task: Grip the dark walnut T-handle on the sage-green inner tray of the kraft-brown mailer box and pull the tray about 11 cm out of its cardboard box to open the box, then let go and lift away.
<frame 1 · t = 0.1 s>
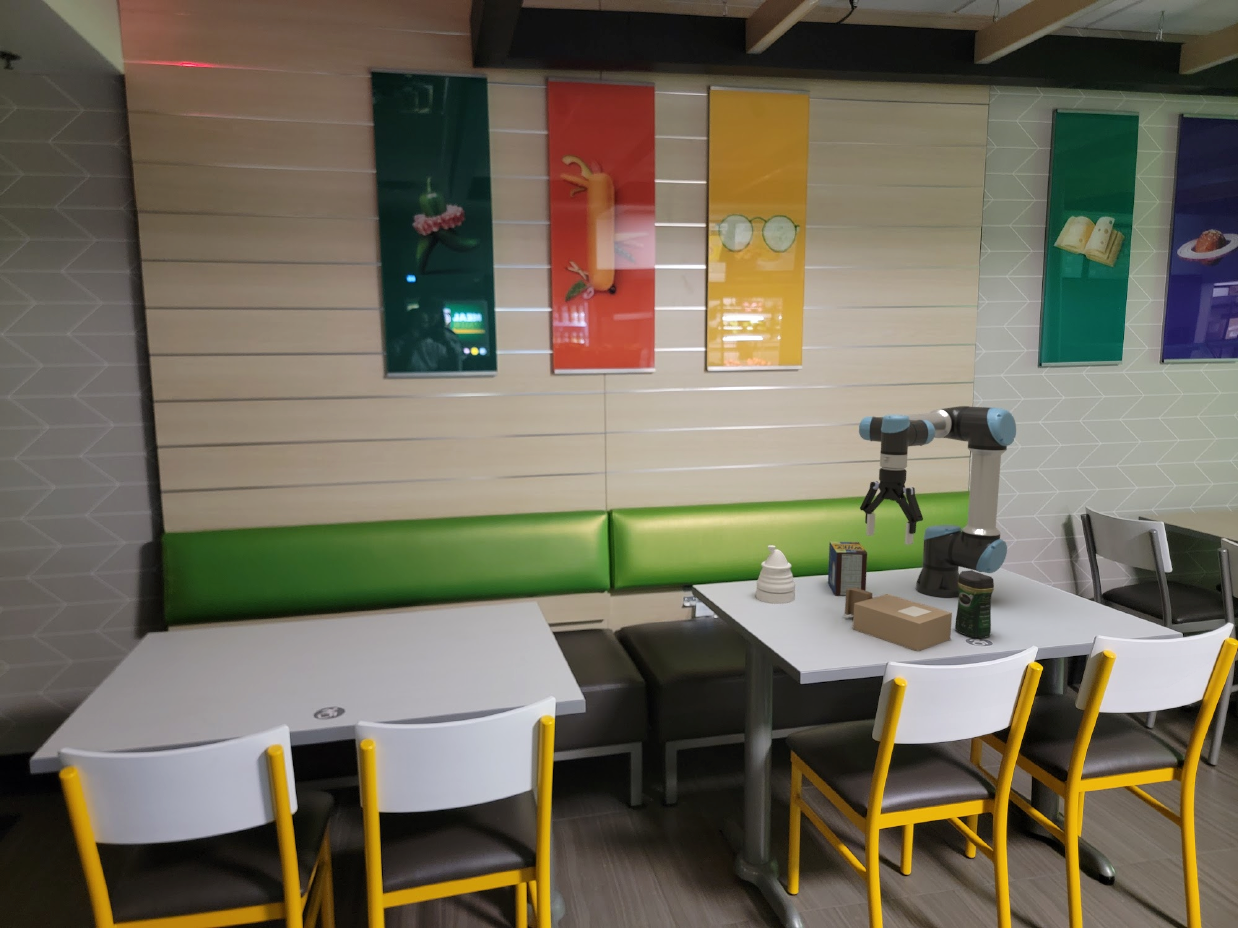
hand: (889, 539, 238), 28 cm above the table, fingers open, 13 cm apart
tray: (889, 613, 242), point 5 cm above the table, slide at 0.0 cm
protein box: (845, 590, 283), on the table
cardboard box: (900, 634, 239), on the table
honey pot: (775, 598, 273), on the table
coffee jar: (972, 633, 240), on the table
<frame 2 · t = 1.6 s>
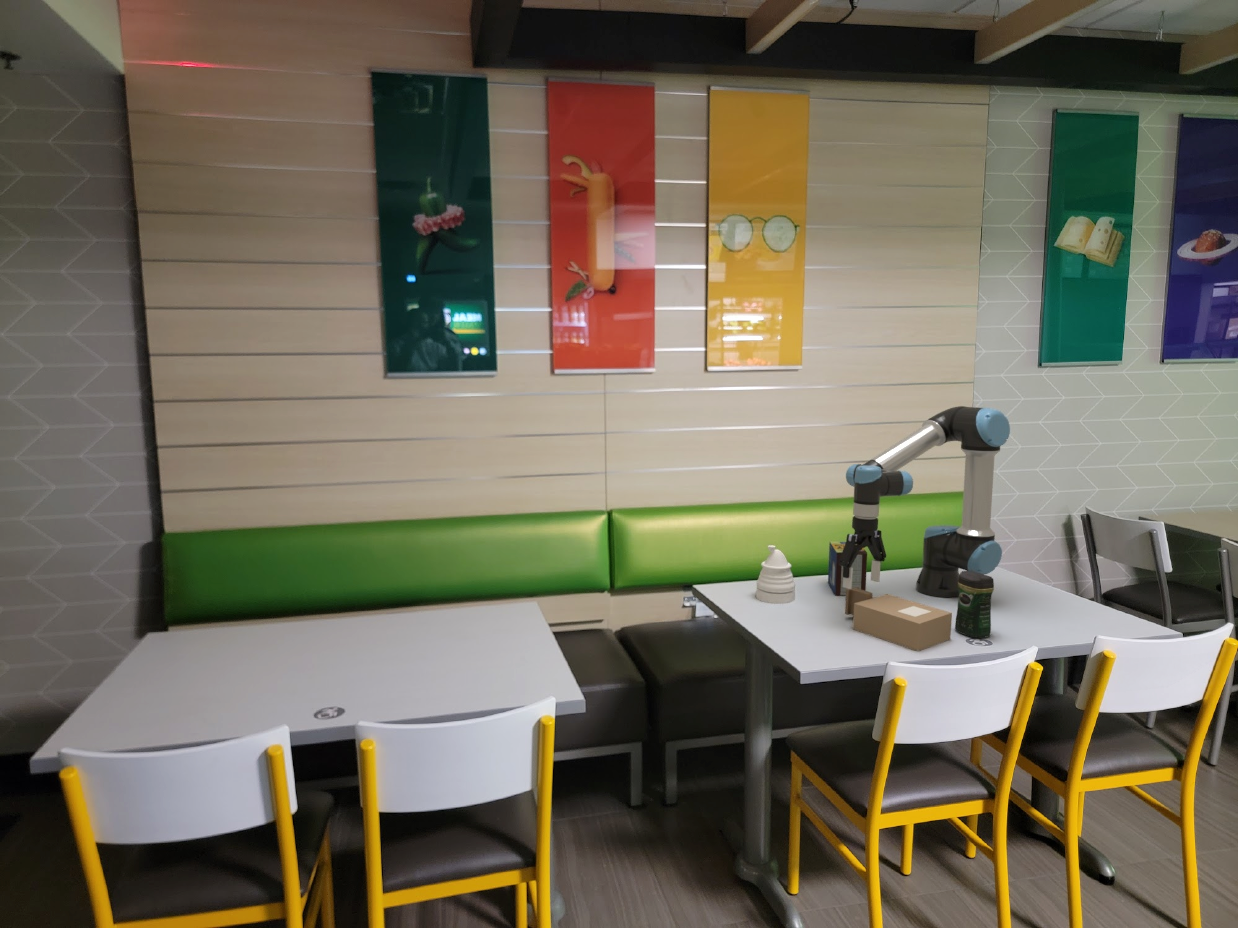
hand: (861, 584, 249), 12 cm above the table, fingers open, 13 cm apart
nothing on the table moved.
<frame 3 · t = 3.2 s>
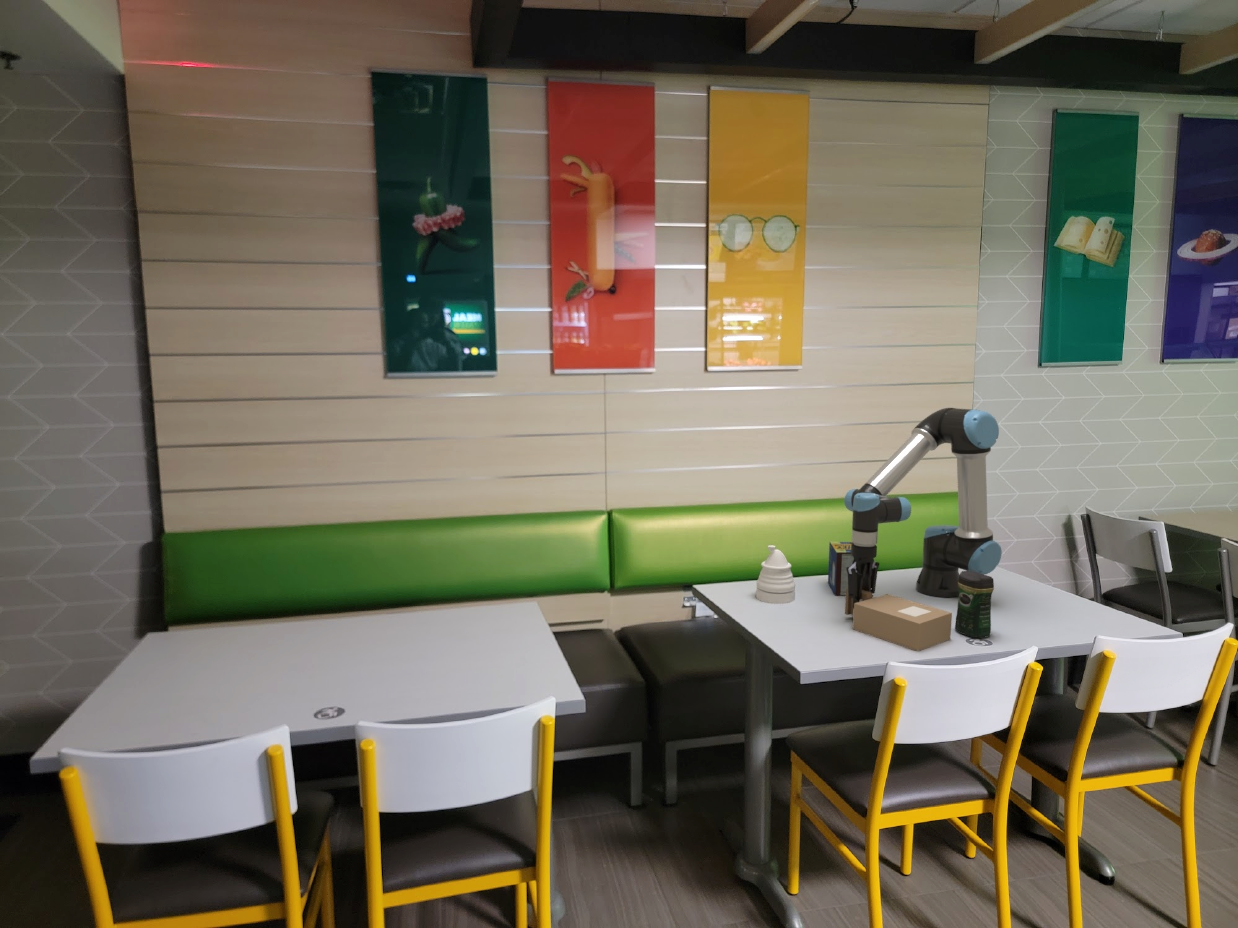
hand: (860, 617, 250), 1 cm above the table, fingers closed on tray, 2 cm apart
tray: (889, 613, 242), point 5 cm above the table, slide at 0.0 cm, touching gripper
everything else where it was.
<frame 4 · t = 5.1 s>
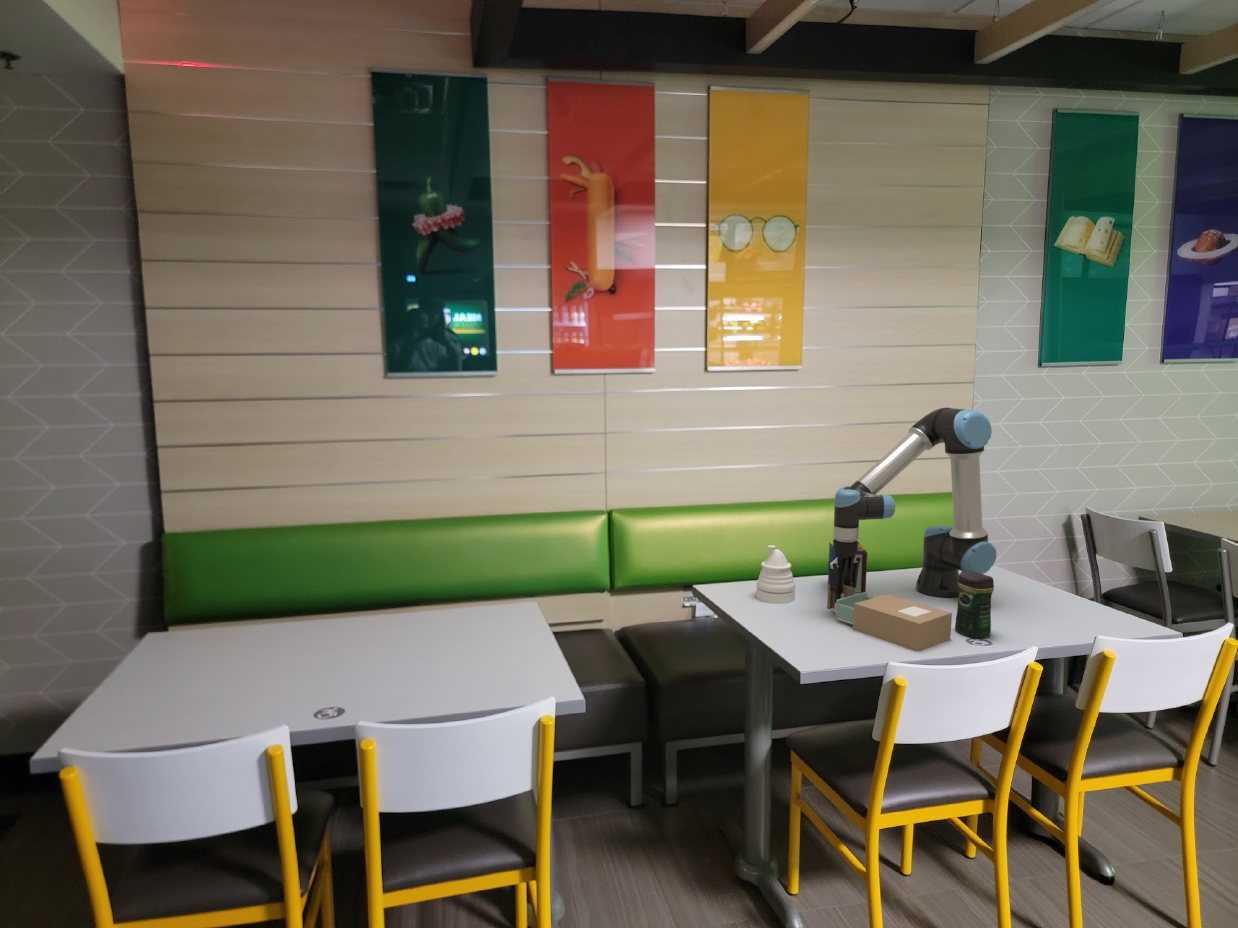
hand: (842, 611, 256), 1 cm above the table, fingers closed on tray, 2 cm apart
tray: (869, 607, 247), point 5 cm above the table, slide at 7.0 cm, touching gripper
everything else where it was.
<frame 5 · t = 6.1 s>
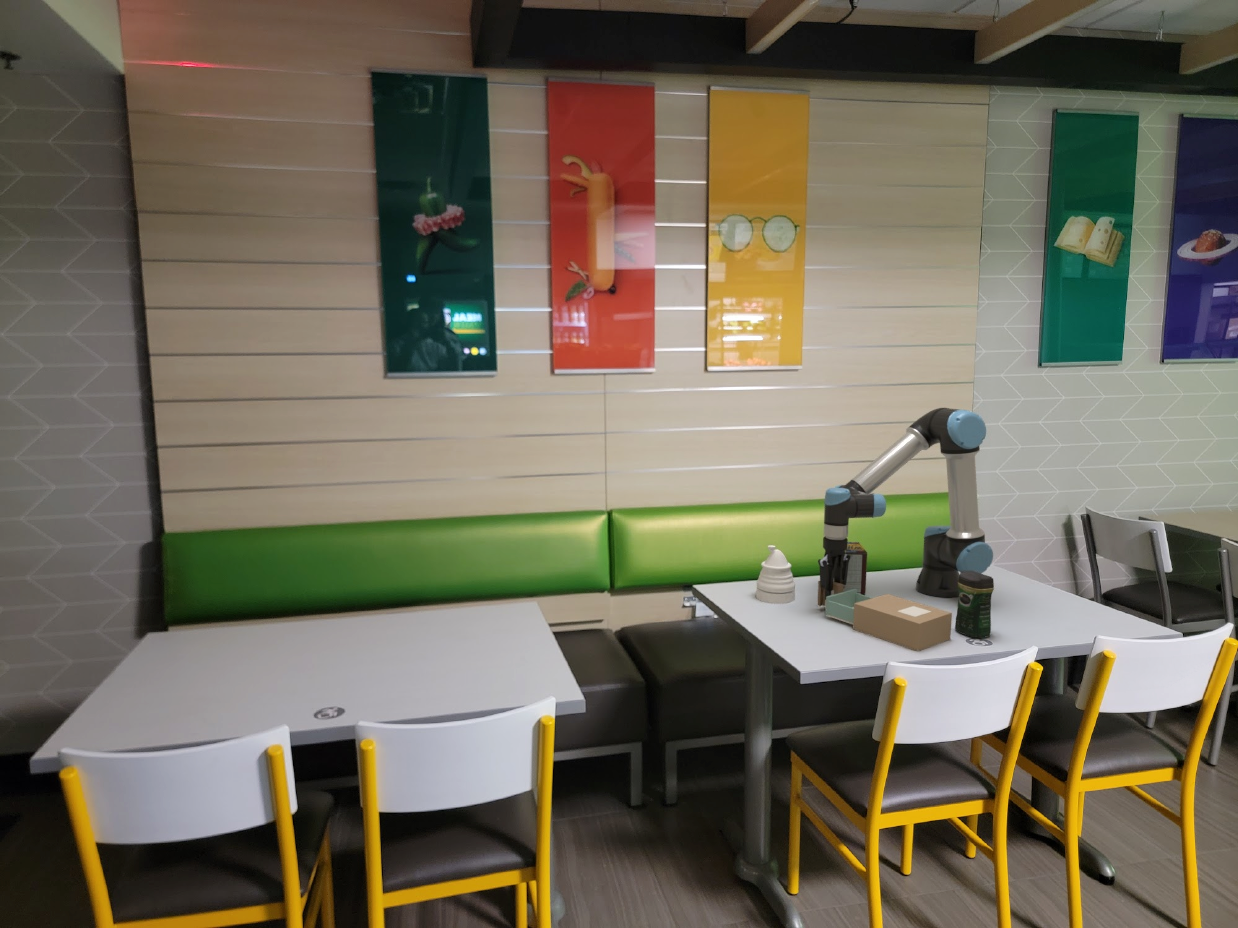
hand: (832, 608, 259), 1 cm above the table, fingers closed on tray, 2 cm apart
tray: (858, 603, 250), point 5 cm above the table, slide at 10.9 cm, touching gripper
everything else where it was.
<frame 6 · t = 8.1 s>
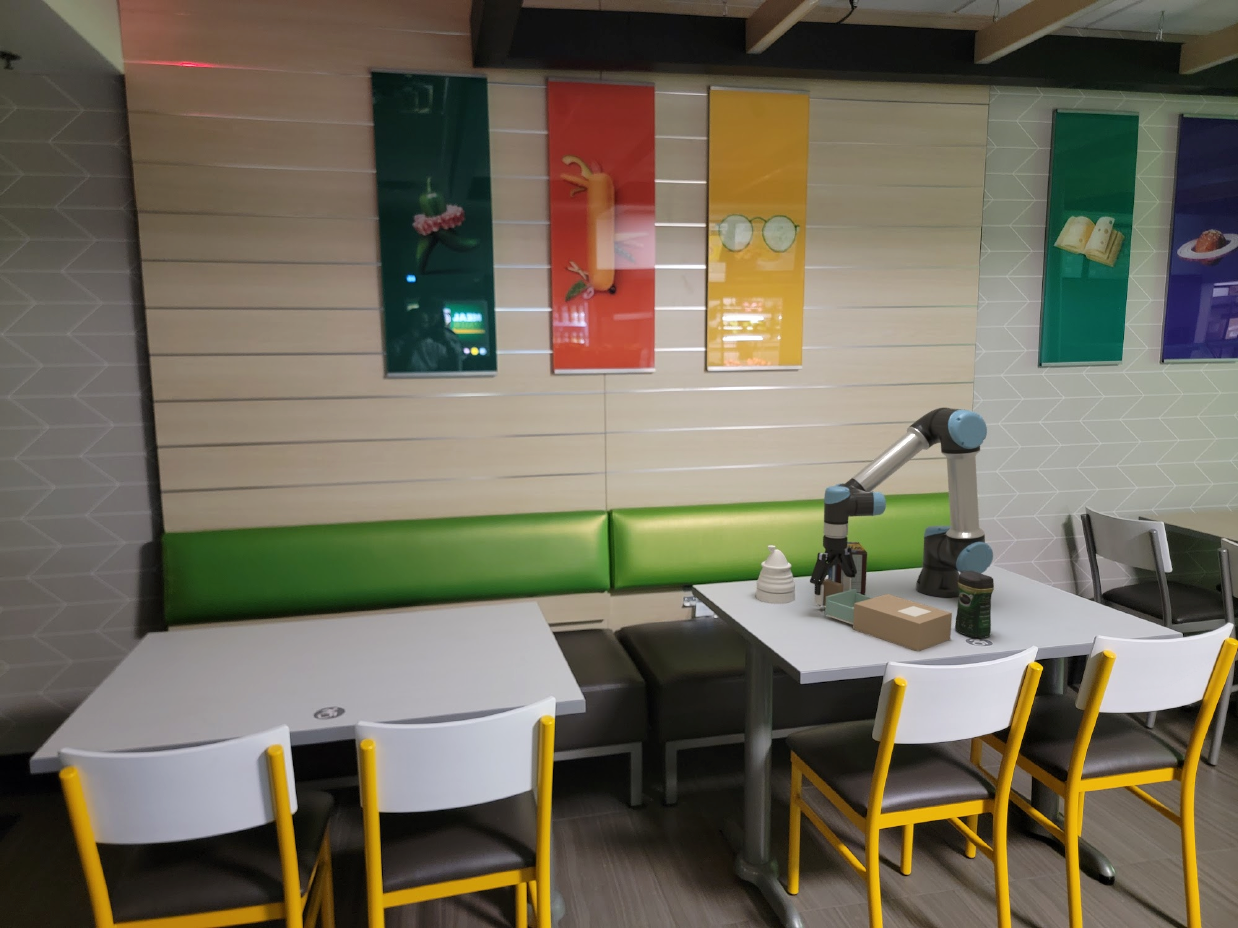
hand: (833, 600, 259), 4 cm above the table, fingers open, 13 cm apart
tray: (858, 603, 251), point 5 cm above the table, slide at 11.0 cm
everything else where it was.
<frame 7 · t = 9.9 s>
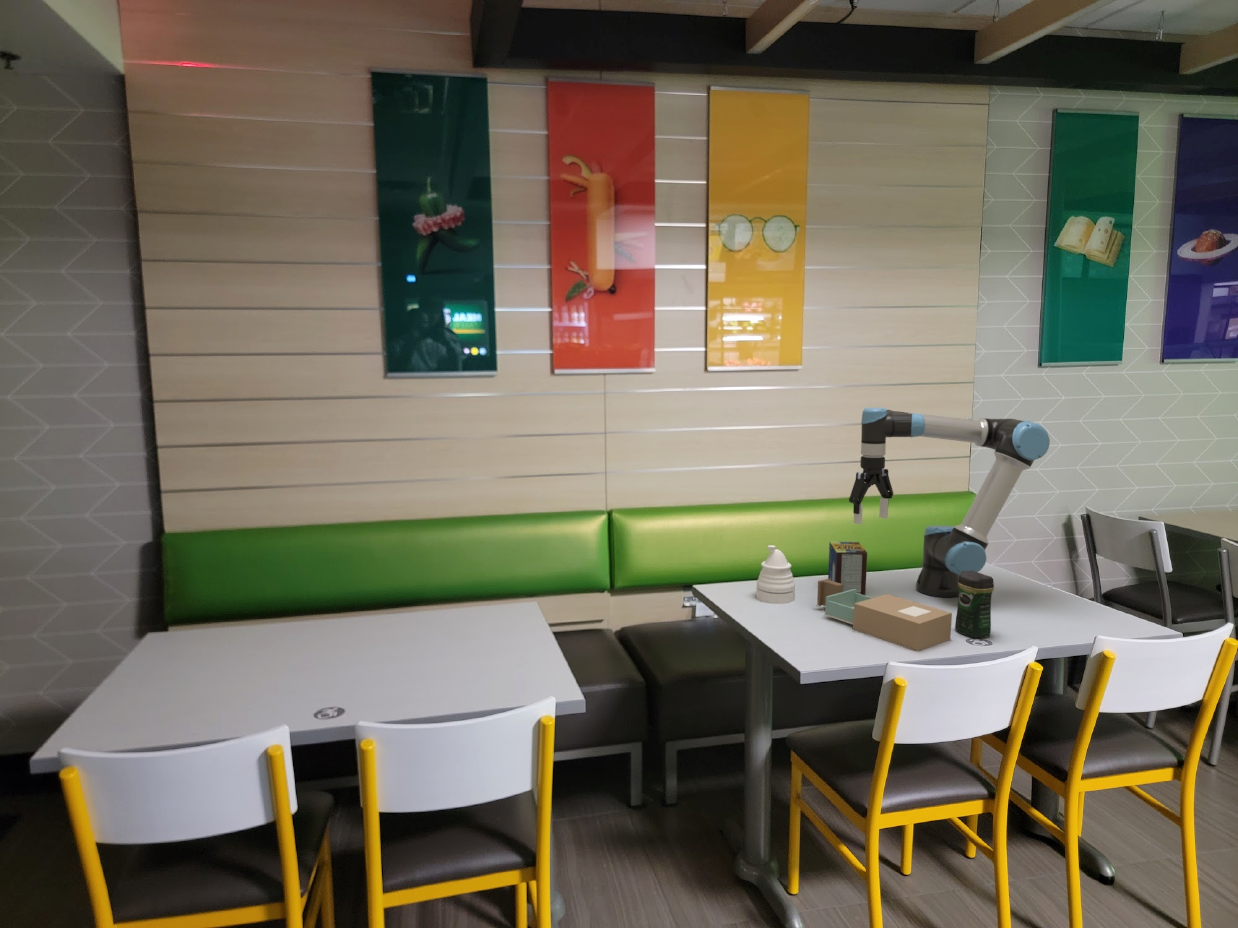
hand: (870, 520, 263), 28 cm above the table, fingers open, 13 cm apart
nothing on the table moved.
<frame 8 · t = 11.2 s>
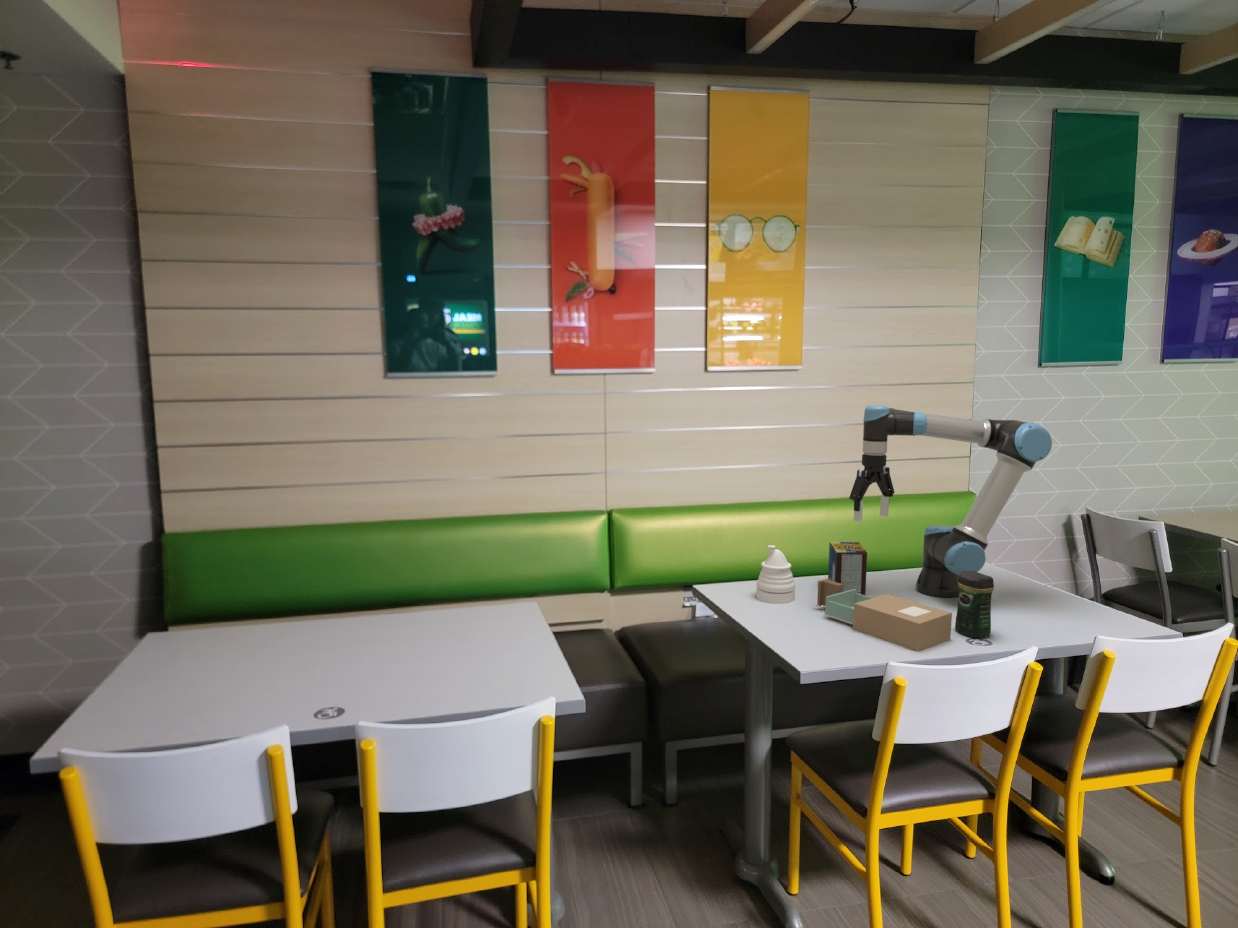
hand: (871, 518, 263), 29 cm above the table, fingers open, 13 cm apart
nothing on the table moved.
at the end: tray slide at 11.0 cm; the gripper is holding nothing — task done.
